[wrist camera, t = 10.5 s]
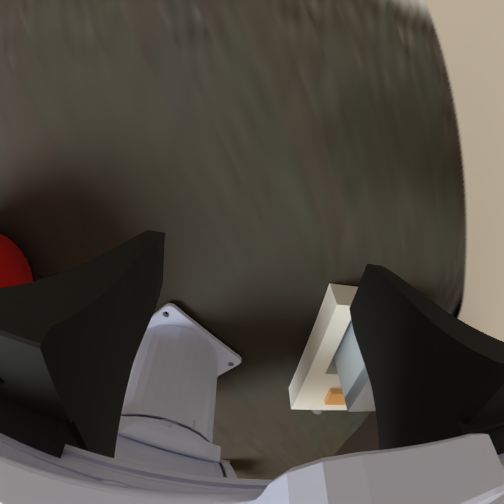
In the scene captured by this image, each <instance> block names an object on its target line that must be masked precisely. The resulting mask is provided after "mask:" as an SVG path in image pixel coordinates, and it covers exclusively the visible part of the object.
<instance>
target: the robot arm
mask: <svg viewBox="0 0 504 504" xmlns="http://www.w3.org/2000/svg"><path fill="white" fill-rule="evenodd" d="M164 239H165V233H163V232H156V231H149V230H147V231H145V232H143V233H141V234H139V235H137V236H136V237H134V238H132V239H131V240H129V241H127V242H125V243H124V244H122V245H120V246H118V247H117V248H115V249H113V250H111V251H109V252H107V253H105V254H103V255H101V256H99V257H98V258H96V259H94V260H92V261H90V262H87V263H85V264H83V265H81V266H78V267H76V268H73V269H71V270H68V271H65V272H63V273H59V274H56V275H53V276H50V277H46V278H43V279H40V280H36V281H32V282H28V283H23V284H18V285H13V286H7V287H0V504H504V342H502V341H500V340H497V339H495V338H493V337H491V336H488V335H486V334H484V333H482V332H480V331H478V330H477V329H475V328H473V327H471V326H469V325H467V324H465V323H464V322H462V321H460V320H459V319H457V318H456V317H454V316H452V315H451V314H449V313H448V312H446V311H445V310H443V309H442V308H440V307H439V306H438V305H436V304H435V303H433V302H432V301H431V300H429V299H428V298H427V297H425V296H424V295H422V294H421V293H420V292H419V291H417V290H416V289H415V288H413V287H412V286H411V285H409V284H408V283H407V282H405V281H404V280H403V279H401V278H400V277H399V276H397V275H396V274H394V273H393V272H391V271H390V270H388V269H386V268H385V267H383V266H379V265H372V264H367V266H366V268H365V271H364V273H363V276H362V279H361V281H360V284H359V286H358V289H357V291H356V294H355V296H354V298H353V301H352V303H351V306H350V308H349V309H350V315H351V321H352V326H353V331H354V334H355V337H356V340H357V343H358V346H359V349H360V352H361V355H362V358H363V361H364V364H365V367H366V370H367V373H368V376H369V380H370V383H371V387H372V392H373V397H374V403H375V409H376V417H377V425H378V436H379V450H376V451H368V452H356V453H351V454H345V455H339V456H333V457H326V458H321V459H318V460H315V461H312V462H309V463H306V464H303V465H300V466H296V467H293V468H291V469H289V470H288V471H286V472H285V473H283V474H282V475H280V476H279V477H277V478H276V479H274V480H260V479H240V478H237V476H236V474H235V472H234V470H233V468H232V466H231V465H230V464H229V463H228V462H226V461H221V460H220V452H221V447H220V446H217V445H214V444H212V439H213V425H214V412H215V399H216V387H217V377H218V376H219V375H221V374H223V373H225V372H227V371H228V370H230V369H232V368H234V367H235V366H237V365H239V364H240V363H241V357H240V356H239V355H238V354H237V353H235V352H234V351H233V350H231V349H230V348H229V347H227V346H226V345H225V344H224V343H222V342H221V341H220V340H218V339H217V338H216V337H215V336H213V335H212V334H211V333H209V332H208V331H207V330H206V329H204V328H203V327H202V326H201V325H199V324H198V323H197V322H196V321H194V320H193V319H192V318H191V317H189V316H188V315H187V314H186V313H185V312H183V311H182V310H181V309H180V308H179V307H177V306H176V305H175V304H173V303H168V304H166V305H164V306H163V307H162V308H161V309H160V310H158V311H157V312H156V313H155V314H153V313H154V310H155V308H156V305H157V302H158V298H159V295H160V291H161V287H162V283H163V258H164ZM164 312H168V313H169V314H166V313H164ZM230 362H232V363H230Z"/></svg>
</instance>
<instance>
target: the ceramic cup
mask: <svg viewBox="0 0 504 504" xmlns="http://www.w3.org/2000/svg"><path fill="white" fill-rule="evenodd" d="M32 281H33V276H32V272H31V268H30V266H29V263H28V261H27V259H26V257H25V256H24V254H23V253H22V251H21V250H20V249H19V247H18V246H17V245H16V244H15V243H14V242H13V241H11V240H10V239H9V238H7V237H6V236H4V235H1V234H0V287H7V286H13V285H18V284H23V283H28V282H32Z"/></svg>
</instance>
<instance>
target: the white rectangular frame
mask: <svg viewBox="0 0 504 504" xmlns="http://www.w3.org/2000/svg"><path fill="white" fill-rule="evenodd" d="M357 289H358V287H355V286H347V285H340V284H332V283H329V286H328V288H327V291H326V294H325V297H324V300H323V302H322V305H321V308H320V311H319V313H318V316H317V319H316V321H315V324H314V326H313V329H312V332H311V334H310V337H309V339H308V342H307V344H306V347H305V349H304V352H303V354H302V357H301V359H300V362H299V364H298V367H297V369H296V372H295V374H294V376H293V379H292V381H291V383H290V386H289V395H290V404H291V409H302V410H312V412H313V413H315V414H321V413H322V412H323V410H347V407H346V403H345V399H344V395H343V391H342V387H341V383H340V379H339V375H338V372H337V368H336V364H335V360H334V354H335V352H336V350H337V348H338V346H339V344H340V342H341V340H342V337H343V335H344V333H345V331H346V329H347V326H348V324H349V322H350V320H351V315H350V309H349V308H350V306H351V303H352V301H353V298H354V296H355V294H356V291H357Z"/></svg>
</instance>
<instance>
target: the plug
mask: <svg viewBox="0 0 504 504" xmlns="http://www.w3.org/2000/svg"><path fill="white" fill-rule="evenodd" d="M334 360H335V364H336V368H337V372H338V375H339V379H340V383H341V387H342V391H343V395H344V399H345V403H346V407H347V411H348V412H353V411H376V409H375V403H374V397H373V392H372V387H371V383H370V380H369V376H368V373H367V370H366V367H365V364H364V361H363V358H362V355H361V352H360V349H359V346H358V343H357V340H356V337H355V334H354V331H353V326H352V321H351V320H350V322H349V324H348V326H347V329H346V331H345V333H344V335H343V337H342V340H341V342H340V344H339V346H338V348H337V350H336V352H335V354H334Z"/></svg>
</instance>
